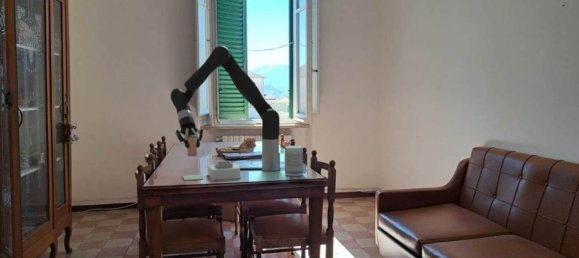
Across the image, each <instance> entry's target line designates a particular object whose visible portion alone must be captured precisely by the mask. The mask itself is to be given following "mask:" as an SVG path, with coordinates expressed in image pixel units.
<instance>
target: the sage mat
mask: <svg viewBox="0 0 579 258" xmlns="http://www.w3.org/2000/svg"><path fill="white" fill-rule="evenodd" d="M182 178H183V181H185V182H187V181H189V182H190V181H202V180H204V177H203V175H202V174H192V175H191V174H190V175H183V176H182Z"/></svg>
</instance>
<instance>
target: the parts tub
mask: <svg viewBox="0 0 579 258" xmlns="http://www.w3.org/2000/svg"><path fill="white" fill-rule="evenodd" d="M241 168H242V166H241V164H236V163H232V161H231V160H223V161H214V164H207V169H208V170H207V171H208V177H210V179H211V180H212V181H216V180H217V181H218V180H232V179H241Z"/></svg>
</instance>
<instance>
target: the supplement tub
mask: <svg viewBox="0 0 579 258" xmlns="http://www.w3.org/2000/svg"><path fill="white" fill-rule="evenodd" d="M303 174H304V146H300V145H287V146H285V147H284V175H285V176H286V177H294V178H295V177H301V176H303Z"/></svg>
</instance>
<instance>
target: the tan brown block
mask: <svg viewBox="0 0 579 258" xmlns="http://www.w3.org/2000/svg"><path fill="white" fill-rule="evenodd" d="M197 136H198V134H197V135H187V140H188V144H189V148H187V147H186V149H187V155H186V156H188V157H197V156H198V148H197Z"/></svg>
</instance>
